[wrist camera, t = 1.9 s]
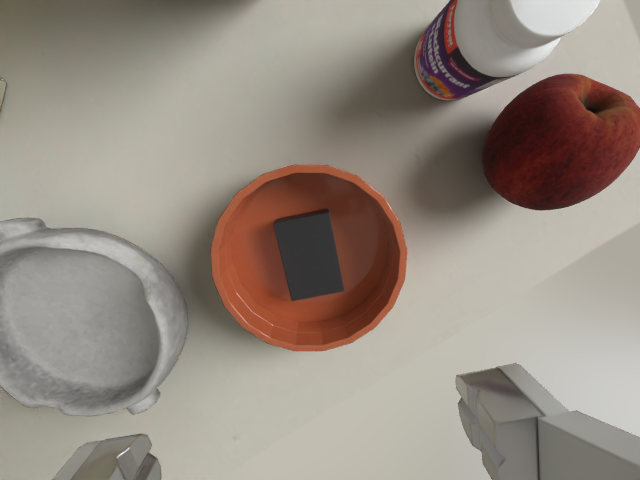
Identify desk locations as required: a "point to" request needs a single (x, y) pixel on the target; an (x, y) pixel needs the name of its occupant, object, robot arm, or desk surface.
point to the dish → (84, 320)
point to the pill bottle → (491, 42)
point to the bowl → (267, 268)
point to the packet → (309, 254)
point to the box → (2, 90)
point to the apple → (561, 142)
